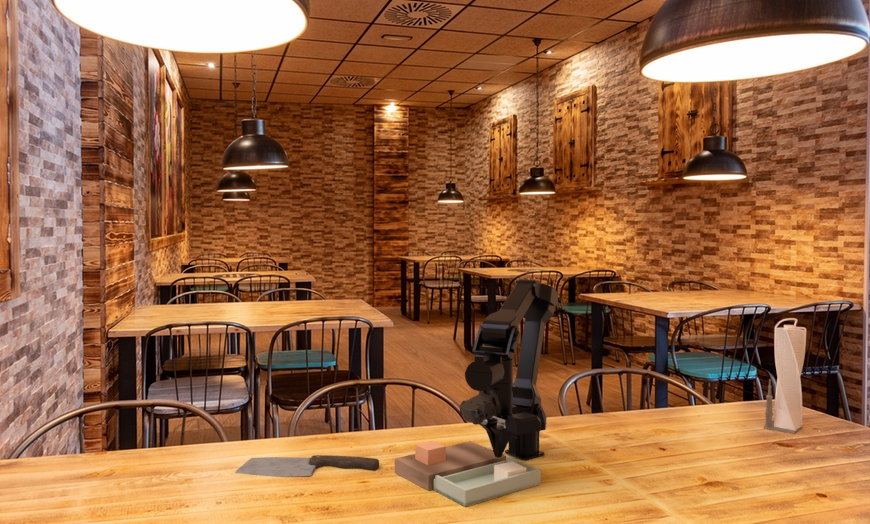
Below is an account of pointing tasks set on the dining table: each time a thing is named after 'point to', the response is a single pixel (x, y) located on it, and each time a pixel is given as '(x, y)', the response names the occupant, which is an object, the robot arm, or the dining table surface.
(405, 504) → the dining table surface
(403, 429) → the dining table surface
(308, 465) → the cleaver
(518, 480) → the tray
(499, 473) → the pale pink cube
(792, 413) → the skyscraper
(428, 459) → the salmon pink cube
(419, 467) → the plate
